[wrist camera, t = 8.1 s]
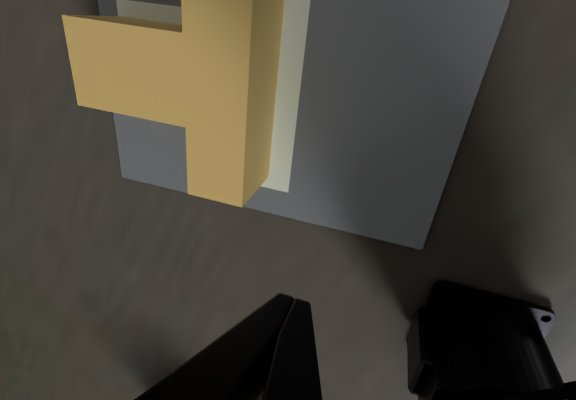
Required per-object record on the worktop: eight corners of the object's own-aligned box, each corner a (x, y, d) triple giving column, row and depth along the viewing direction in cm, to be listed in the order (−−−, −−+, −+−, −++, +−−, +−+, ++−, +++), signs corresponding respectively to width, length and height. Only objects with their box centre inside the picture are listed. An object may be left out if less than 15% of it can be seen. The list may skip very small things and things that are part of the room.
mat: (547, -112, 13) (551, -115, 12) (421, 247, 20) (421, 250, 20) (84, -129, 17) (79, -131, 16) (124, 175, 24) (122, 177, 24)
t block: (288, -48, 15) (256, -68, 12) (268, 176, 21) (241, 207, 17) (115, -64, 17) (44, -85, 14) (137, 146, 23) (89, 169, 19)
